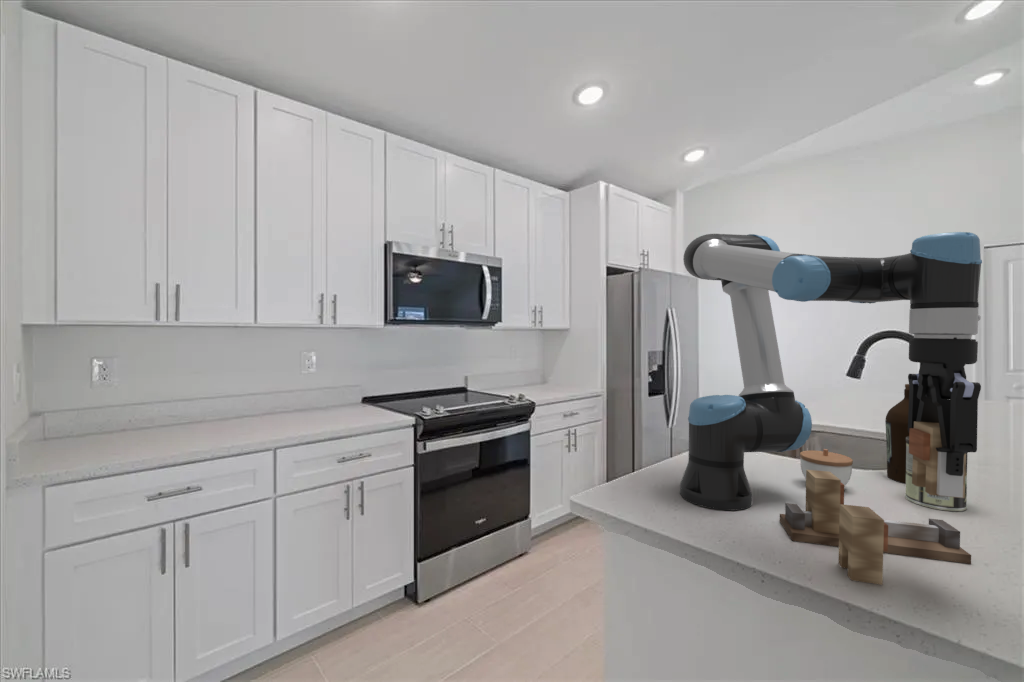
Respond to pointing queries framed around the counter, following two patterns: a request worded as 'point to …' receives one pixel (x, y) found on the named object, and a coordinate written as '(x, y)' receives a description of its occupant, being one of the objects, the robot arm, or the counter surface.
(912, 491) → the coffee can
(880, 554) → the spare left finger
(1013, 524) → the counter surface
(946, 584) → the counter surface
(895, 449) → the olive oil
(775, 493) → the counter surface
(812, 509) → the block
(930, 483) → the right finger
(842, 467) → the lidded jar
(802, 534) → the rail board
